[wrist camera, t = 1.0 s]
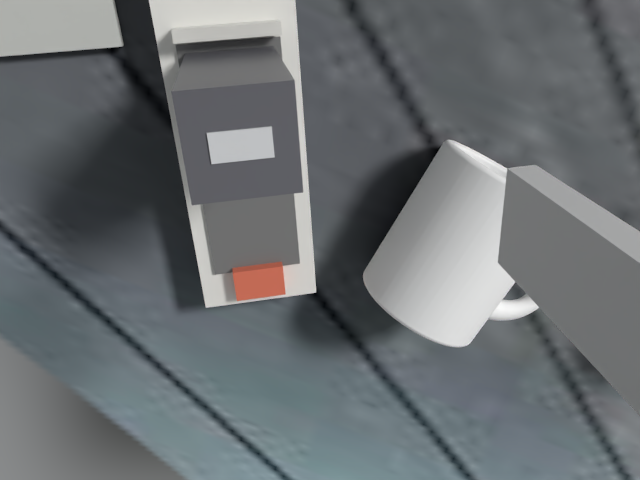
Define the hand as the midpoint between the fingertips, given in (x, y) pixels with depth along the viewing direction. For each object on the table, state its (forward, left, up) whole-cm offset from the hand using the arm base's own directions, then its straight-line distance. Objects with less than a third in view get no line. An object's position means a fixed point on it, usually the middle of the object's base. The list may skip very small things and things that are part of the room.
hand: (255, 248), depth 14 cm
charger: (0, 0, -17) cm, 17 cm away
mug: (+11, +14, -20) cm, 27 cm away
